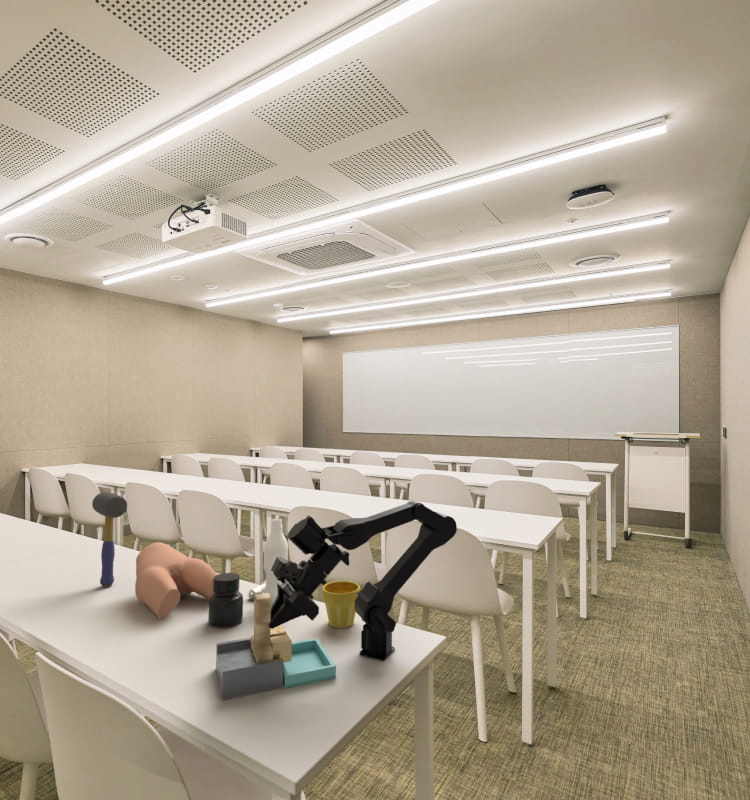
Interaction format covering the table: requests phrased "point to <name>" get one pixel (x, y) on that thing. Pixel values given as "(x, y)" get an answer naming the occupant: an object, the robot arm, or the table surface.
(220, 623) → the ink bottle
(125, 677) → the table surface
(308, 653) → the teal tray
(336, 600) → the plant pot
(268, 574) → the water bottle
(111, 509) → the rubber mallet
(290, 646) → the brass block
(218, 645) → the grey tray
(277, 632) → the brass block
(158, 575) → the medical training model
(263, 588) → the pipe fitting
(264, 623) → the light brown t-shaped block
